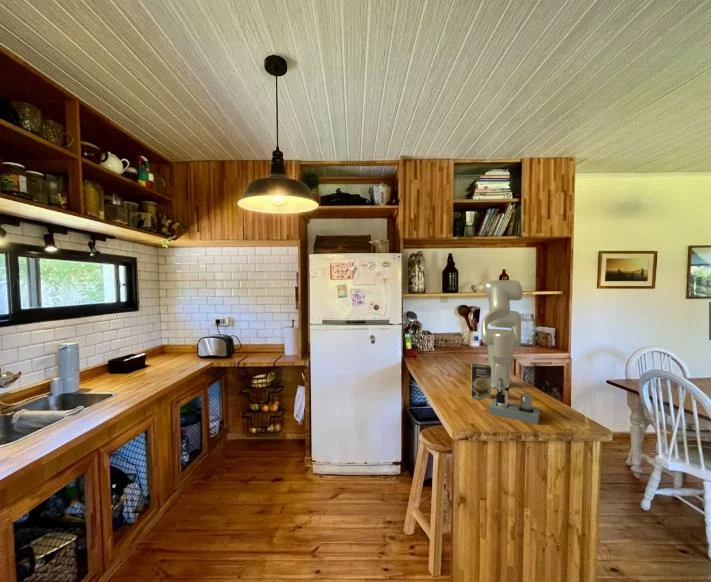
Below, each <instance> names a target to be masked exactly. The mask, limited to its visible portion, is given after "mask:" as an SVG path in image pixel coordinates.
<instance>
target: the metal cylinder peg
mask: <svg viewBox="0 0 711 582" xmlns="http://www.w3.org/2000/svg"><path fill="white" fill-rule="evenodd" d="M520 404H521V411H525V412H529V413H532V406H533V395H532V394H530V393H529V394H528V393H521V394H520Z"/></svg>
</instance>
